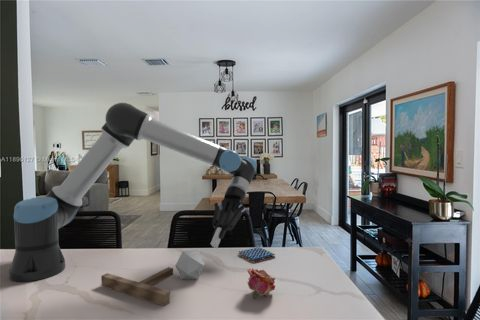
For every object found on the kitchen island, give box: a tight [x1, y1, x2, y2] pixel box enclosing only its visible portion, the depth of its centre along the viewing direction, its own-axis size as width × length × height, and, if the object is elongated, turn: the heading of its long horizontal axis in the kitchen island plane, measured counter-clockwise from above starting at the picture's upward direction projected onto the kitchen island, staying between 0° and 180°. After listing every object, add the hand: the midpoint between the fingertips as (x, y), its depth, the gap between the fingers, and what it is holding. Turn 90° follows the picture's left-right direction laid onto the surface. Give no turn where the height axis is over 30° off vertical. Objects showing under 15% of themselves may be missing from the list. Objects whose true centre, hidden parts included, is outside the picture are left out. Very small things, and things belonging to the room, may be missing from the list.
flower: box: [246, 267, 276, 299], centre depth 82 cm, size 9×9×7 cm
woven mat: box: [238, 246, 276, 264], centre depth 112 cm, size 10×11×2 cm
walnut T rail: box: [101, 266, 174, 307], centre depth 90 cm, size 24×16×3 cm, turn 61°
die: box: [175, 250, 205, 280], centre depth 94 cm, size 8×9×10 cm
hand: (213, 246), depth 104 cm, fingers closed
